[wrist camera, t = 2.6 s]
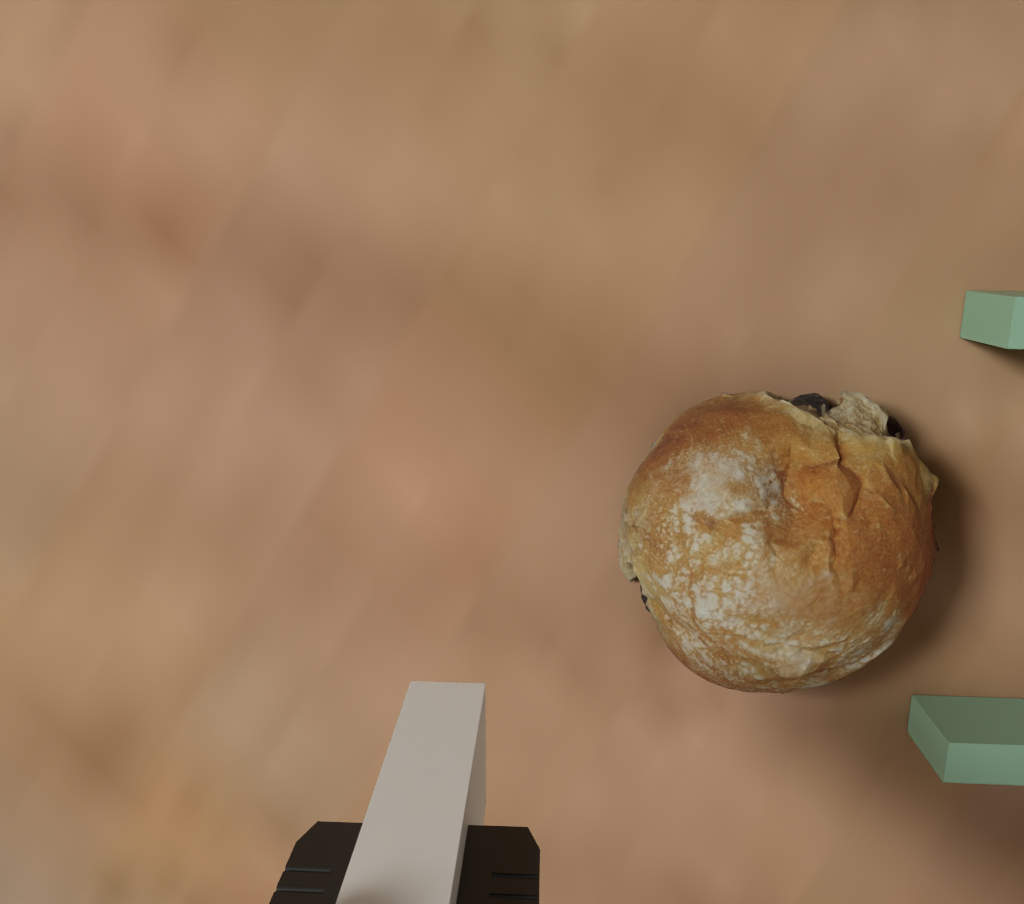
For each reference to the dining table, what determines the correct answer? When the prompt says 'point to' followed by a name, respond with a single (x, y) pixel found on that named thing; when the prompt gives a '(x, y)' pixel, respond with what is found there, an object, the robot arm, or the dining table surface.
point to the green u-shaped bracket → (977, 720)
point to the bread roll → (779, 537)
